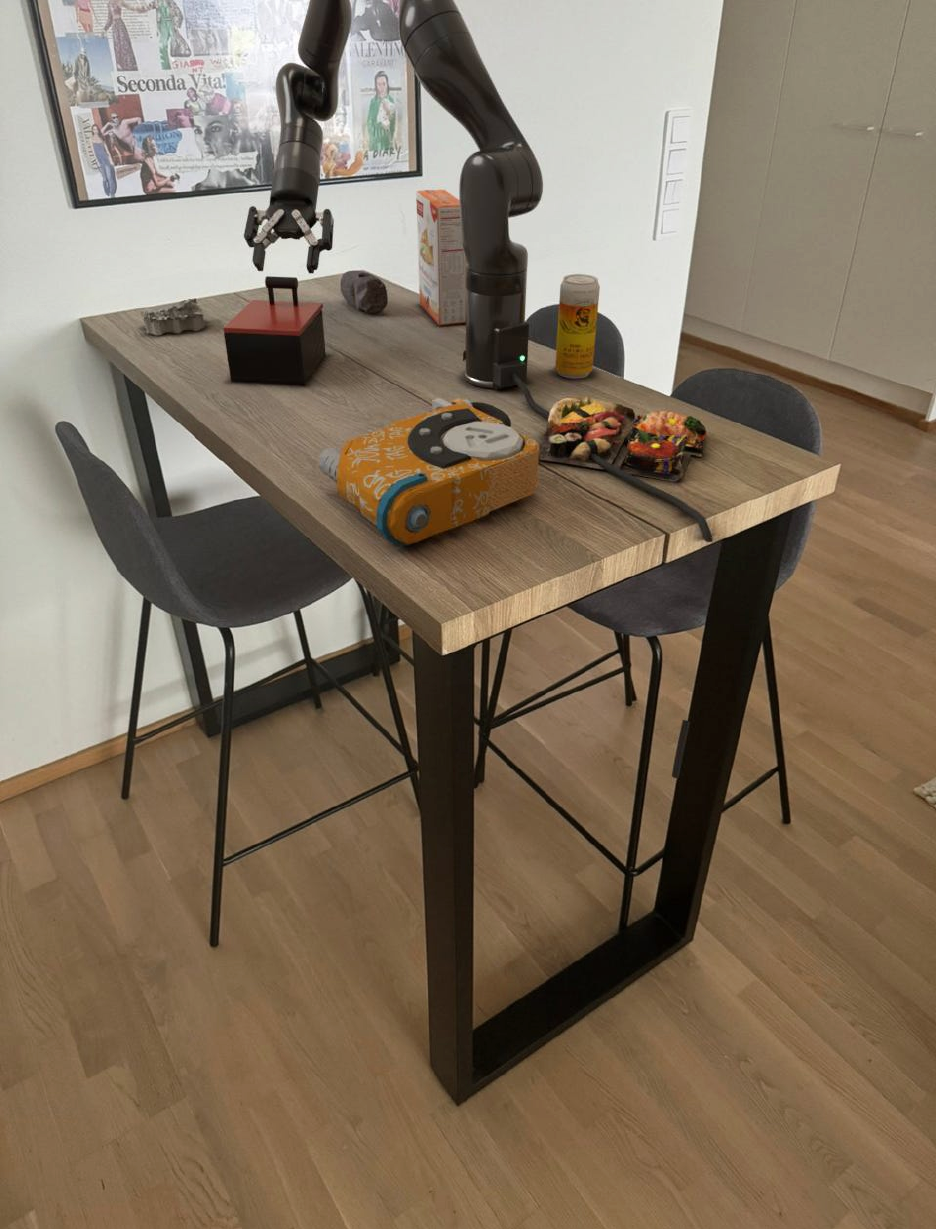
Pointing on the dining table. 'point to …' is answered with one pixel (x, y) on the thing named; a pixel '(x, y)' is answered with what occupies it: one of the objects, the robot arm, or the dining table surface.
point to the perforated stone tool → (364, 291)
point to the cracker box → (441, 257)
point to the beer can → (577, 325)
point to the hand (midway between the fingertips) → (284, 269)
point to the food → (622, 437)
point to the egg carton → (174, 318)
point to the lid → (275, 312)
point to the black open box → (276, 355)
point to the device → (434, 469)
